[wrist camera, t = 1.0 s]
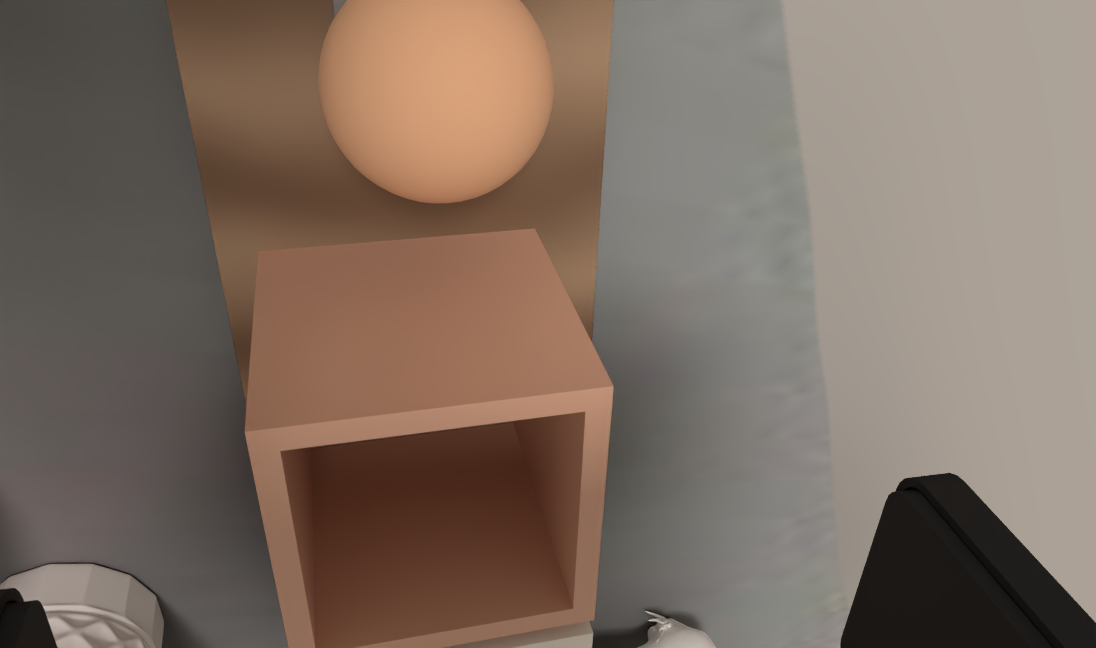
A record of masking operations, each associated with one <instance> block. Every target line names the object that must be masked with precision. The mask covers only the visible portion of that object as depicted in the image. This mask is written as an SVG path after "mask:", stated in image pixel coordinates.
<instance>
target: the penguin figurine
mask: <svg viewBox="0 0 1096 648" xmlns="http://www.w3.org/2000/svg"><path fill="white" fill-rule="evenodd" d="M644 612H647V613H649V614H650V615H652V616H654V617H656V618H657V619H652V620H648V621H656V622H658V623H657V624H656V625H655V626H652V627H650V628H649V630H648V633H647V635H648V642H647V643H646V644H644V645H642V646H640V647H637V648H716V647H715V645H714V643H713V642H712V640H711V639H710V638H709V637H708V636H707V635H706V634H705V632H704V631H701V630H697V629H694V628H690V627H688V626H686V625H684V624H682V623H680V622H678V621H676V620H674V619H672V618H669V619H666V618H665V617H663V616H660V615H658V614H655V613H651V612H648V611H644ZM651 625H652V624H651Z"/></svg>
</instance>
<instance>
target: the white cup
mask: <svg viewBox="0 0 1096 648" xmlns="http://www.w3.org/2000/svg"><path fill="white" fill-rule="evenodd" d="M8 588H16V589H17V590H18V591H19V592H20V594H21V596H22V597H23V599H24V602H25V601H33V600H38V601H40V602H41V604H42V606H43V608H44V610H45V613H46V616H47V619H48V622H49V624H50V627H51V630H52V633H53V636H54V639H55V642H56V644H57V647H58V648H162V640H163V630H164V619H163V616H162V613H161V610H160V607H159V604H158V601H157V598H156V596H155V595H154V594H153V593H152V592H151V591H149V590H148V589H147V588H146V587H145V586H143V585H142V584H141V583H140V582H138V581H137V580H136V579H135V578H133V577H132V576H131V575H128V574H125V573H122V572H119V571H115V570H112V569H109V568H105V567H102V566H99V565H95V564H48V565H44V566H41V567H38V568H35V569H32V570H29V571H26V572H22V573H19V574H16V575H13V576H10V577H9V578H7V579H6V580H5V581H4V582H3V583H2V584H0V589H8Z"/></svg>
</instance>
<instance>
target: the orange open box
mask: <svg viewBox="0 0 1096 648" xmlns="http://www.w3.org/2000/svg"><path fill="white" fill-rule="evenodd" d="M613 389H614V386H613V384H612V382H611V380H610V378H609V376H608V374H607V372H606V370H605V368H604V366H603V364H602V362H601V360H600V358H599V356H598V354H597V352H596V350H595V348H594V346H593V344H592V342H591V340H590V338H589V336H588V334H587V332H586V330H585V328H584V326H583V324H582V322H581V320H580V318H579V316H578V314H577V312H576V310H575V308H574V306H573V304H572V302H571V300H570V298H569V296H568V294H567V292H566V290H565V288H564V286H563V284H562V282H561V280H560V278H559V276H558V274H557V272H556V270H555V268H554V266H553V264H552V262H551V260H550V258H549V256H548V254H547V252H546V250H545V248H544V246H543V244H542V242H541V240H540V238H539V236H538V234H537V232H536V230H535V228H534V229H522V230H510V231H498V232H486V233H474V234H462V235H450V236H438V237H426V238H414V239H402V240H390V241H378V242H366V243H354V244H342V245H330V246H318V247H306V248H294V249H282V250H270V251H258V259H257V273H256V286H255V299H254V313H253V326H252V340H251V353H250V366H249V380H248V393H247V406H246V420H245V436H246V441H247V446H248V451H249V456H250V461H251V466H252V471H253V476H254V481H255V485H256V490H257V495H258V500H259V505H260V510H261V515H262V520H263V525H264V530H265V535H266V539H267V544H268V549H269V554H270V559H271V564H272V569H273V574H274V579H275V584H276V588H277V593H278V598H279V603H280V608H281V613H282V618H283V623H284V628H285V633H286V638H287V642H288V647H289V648H443V647H449V646H454V645H460V644H465V643H471V642H476V641H482V640H487V639H493V638H498V637H504V636H509V635H515V634H520V633H526V632H531V631H537V630H543V629H548V628H554V627H559V626H565V625H570V624H576V623H581V622H587V621H592V620H594V618H595V606H596V594H597V582H598V570H599V558H600V546H601V534H602V522H603V510H604V498H605V485H606V473H607V461H608V449H609V437H610V425H611V413H612V401H613ZM509 421H513V423H507V424H499V425H491V426H484V427H476V428H468V429H460V430H453V431H445V432H437V433H430V434H422V435H414V436H406V437H399V438H391V439H383V440H376V441H368V442H360V443H352V444H345V445H337V446H329V447H322V448H314V449H312V447H315V446H323V445H331V444H339V443H346V442H354V441H362V440H369V439H377V438H385V437H393V436H400V435H408V434H416V433H424V432H431V431H439V430H447V429H455V428H462V427H470V426H478V425H485V424H493V423H501V422H509Z"/></svg>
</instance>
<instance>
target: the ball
mask: <svg viewBox="0 0 1096 648" xmlns="http://www.w3.org/2000/svg"><path fill="white" fill-rule="evenodd" d="M318 86H319V96H320V101H321V107H322V111H323V114H324V117H325V120H326V123H327V126H328V128H329V130H330V133H331V135H332V137H333V139H334V141H335V142H336V144H337V145H338V147H339V148H340V150H341V151H342V153H343V154H344V155H345V157H346V158H347V159H348V160H349V161H350V163H351V164H352V165H353V166H354V167H355V168H356V169H357V170H358V171H359V172H360V173H361V174H363V175H364V176H365V177H366V178H367V179H369V180H370V181H372V182H373V183H375V184H376V185H377V186H379V187H381V188H383V189H385V190H387V191H389V192H391V193H393V194H395V195H398V196H400V197H403V198H406V199H409V200H414V201H418V202H425V203H434V204H436V203H454V202H461V201H465V200H469V199H473V198H476V197H479V196H481V195H484V194H486V193H488V192H490V191H492V190H494V189H496V188H498V187H500V186H501V185H502V184H504V183H505V182H507V181H508V180H510V179H511V178H512V177H513V176H514V175H515V174H516V173H518V172H519V171H520V170H521V169H522V168H523V166H524V165H525V164H526V163H527V162H528V161H529V160H530V158H531V157H532V155H533V154H534V152H535V151H536V149H537V148H538V146H539V144H540V142H541V140H542V138H543V136H544V133H545V131H546V128H547V125H548V122H549V119H550V114H551V110H552V106H553V96H554V76H553V69H552V63H551V57H550V53H549V50H548V47H547V44H546V41H545V39H544V36H543V34H542V32H541V30H540V28H539V26H538V24H537V23H536V21H535V20H534V18H533V16H532V15H531V13H530V12H529V10H528V9H527V8H526V7H525V5H524V4H523V3H522V2H521V1H520V0H347V1H346V2H345V3H344V5H343V6H342V7H341V9H340V10H339V11H338V13H337V14H336V16H335V18H334V19H333V21H332V23H331V25H330V27H329V29H328V32H327V34H326V37H325V40H324V43H323V47H322V51H321V55H320V61H319V72H318Z"/></svg>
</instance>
